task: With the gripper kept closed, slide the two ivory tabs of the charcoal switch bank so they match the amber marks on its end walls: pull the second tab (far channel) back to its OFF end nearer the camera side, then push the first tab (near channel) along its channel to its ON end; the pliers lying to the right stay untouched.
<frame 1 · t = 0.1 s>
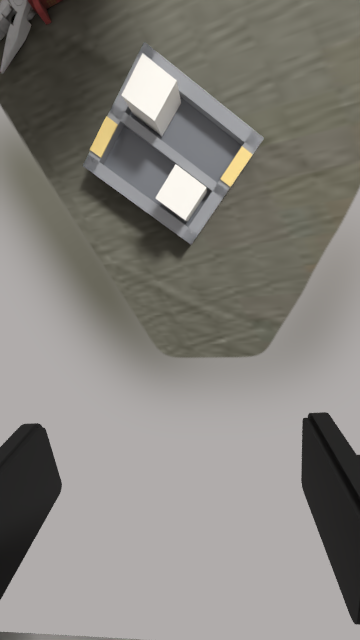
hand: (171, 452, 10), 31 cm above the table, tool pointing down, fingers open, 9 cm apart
tab 1: (153, 99, 30), point 4 cm above the table, slide at 0.0 cm
switch bank: (172, 158, 35), on the table
tab 2: (182, 195, 32), point 4 cm above the table, slide at 8.0 cm
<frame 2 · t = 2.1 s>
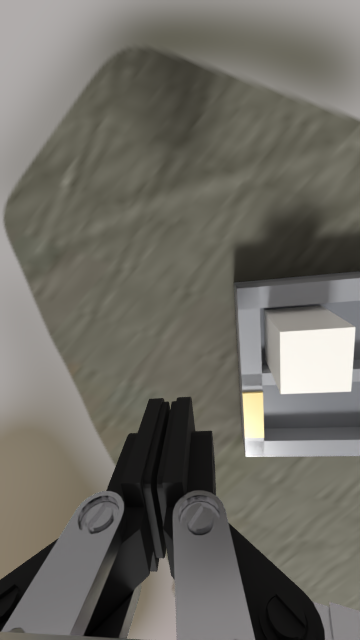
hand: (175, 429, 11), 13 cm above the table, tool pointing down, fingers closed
switch bank: (339, 359, 22), on the table
tab 2: (302, 346, 18), point 4 cm above the table, slide at 8.0 cm
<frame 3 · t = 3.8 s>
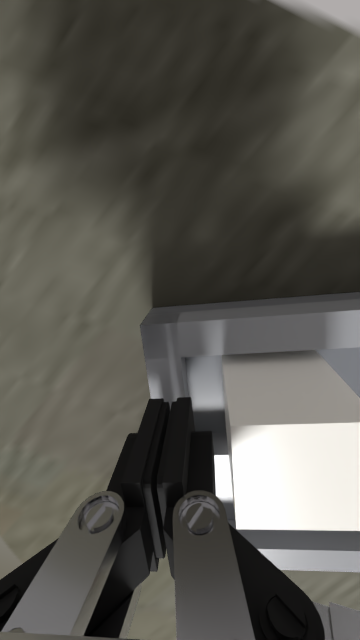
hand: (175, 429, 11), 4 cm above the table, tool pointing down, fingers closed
switch bank: (315, 422, 15), on the table
tab 2: (280, 425, 11), point 4 cm above the table, slide at 6.8 cm, touching gripper
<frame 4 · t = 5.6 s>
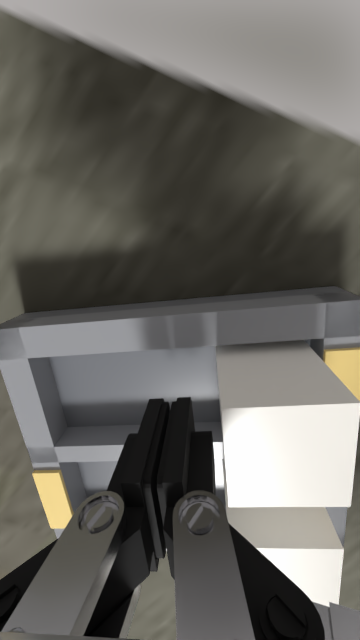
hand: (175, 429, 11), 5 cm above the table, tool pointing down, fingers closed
tab 1: (270, 520, 13), point 4 cm above the table, slide at 0.0 cm
switch bank: (184, 416, 16), on the table
tab 2: (270, 411, 11), point 4 cm above the table, slide at -0.1 cm, touching gripper
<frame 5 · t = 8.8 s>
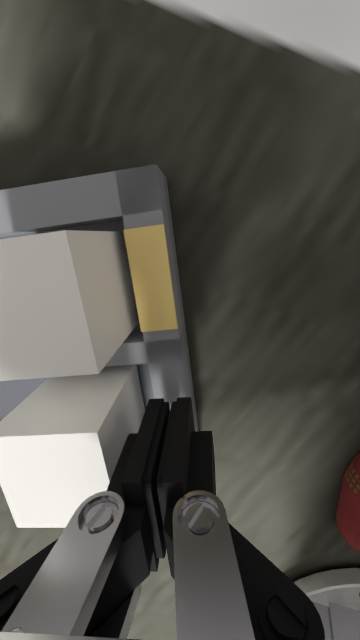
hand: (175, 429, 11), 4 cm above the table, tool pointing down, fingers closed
tab 1: (84, 434, 12), point 4 cm above the table, slide at 0.5 cm, touching gripper
switch bank: (40, 342, 15), on the table
tab 2: (60, 295, 10), point 4 cm above the table, slide at 0.0 cm
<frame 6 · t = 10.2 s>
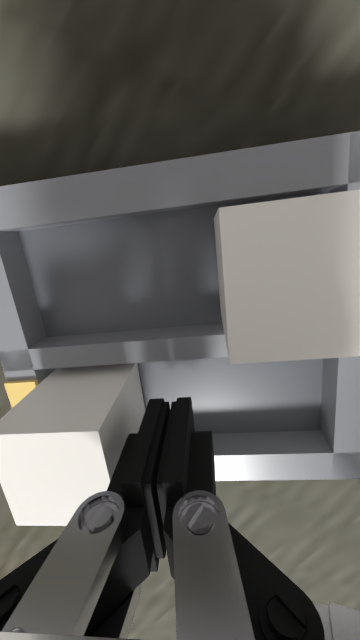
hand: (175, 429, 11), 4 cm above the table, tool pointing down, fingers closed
tab 1: (84, 432, 12), point 4 cm above the table, slide at 8.1 cm, touching gripper
switch bank: (180, 328, 14), on the table
tab 2: (281, 271, 9), point 4 cm above the table, slide at 0.0 cm
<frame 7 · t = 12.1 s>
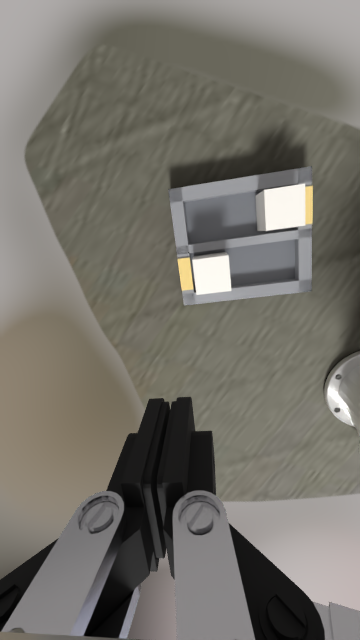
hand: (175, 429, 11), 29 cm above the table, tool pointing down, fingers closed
tab 1: (211, 272, 34), point 4 cm above the table, slide at 8.0 cm
switch bank: (239, 241, 36), on the table
tab 2: (278, 209, 31), point 4 cm above the table, slide at 0.0 cm
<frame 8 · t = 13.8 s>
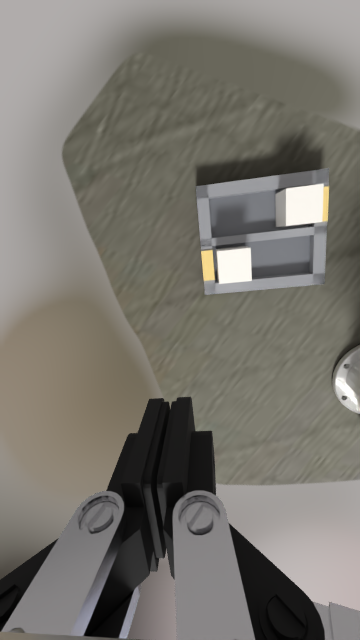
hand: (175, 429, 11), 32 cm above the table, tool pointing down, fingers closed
tab 1: (232, 264, 36), point 4 cm above the table, slide at 8.0 cm
switch bank: (258, 236, 39), on the table
tab 2: (297, 207, 34), point 4 cm above the table, slide at 0.0 cm
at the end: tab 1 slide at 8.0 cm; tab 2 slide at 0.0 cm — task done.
